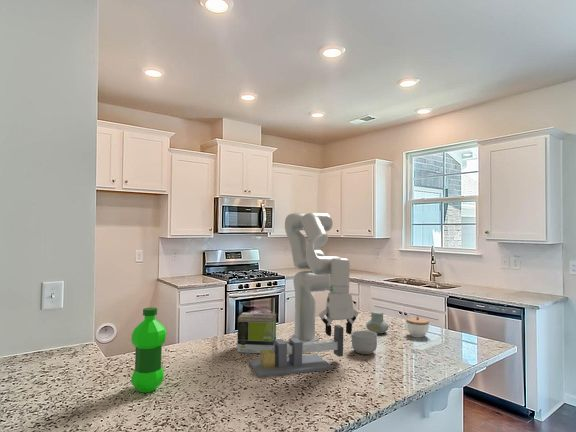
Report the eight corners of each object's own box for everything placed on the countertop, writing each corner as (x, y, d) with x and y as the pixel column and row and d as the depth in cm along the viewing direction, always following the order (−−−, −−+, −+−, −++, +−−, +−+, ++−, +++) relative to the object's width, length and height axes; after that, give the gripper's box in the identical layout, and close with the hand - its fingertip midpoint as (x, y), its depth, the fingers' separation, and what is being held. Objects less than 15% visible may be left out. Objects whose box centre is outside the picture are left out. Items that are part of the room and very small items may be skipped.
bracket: (249, 363, 144) (249, 338, 144) (316, 356, 153) (317, 333, 154) (258, 377, 131) (259, 349, 131) (332, 369, 140) (332, 343, 141)
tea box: (275, 347, 165) (276, 312, 165) (272, 354, 155) (273, 318, 155) (241, 345, 166) (242, 311, 167) (236, 352, 156) (237, 316, 157)
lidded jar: (406, 337, 184) (406, 318, 185) (405, 331, 195) (406, 313, 195) (429, 339, 181) (429, 320, 182) (428, 334, 192) (428, 315, 192)
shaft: (281, 358, 143) (281, 329, 143) (338, 352, 151) (338, 325, 152) (284, 362, 139) (285, 331, 140) (343, 356, 147) (343, 327, 148)
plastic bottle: (152, 379, 127) (155, 304, 128) (171, 388, 120) (173, 309, 121) (123, 389, 119) (126, 308, 120) (141, 399, 112) (144, 314, 113)
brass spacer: (270, 363, 142) (260, 364, 141) (270, 349, 142) (260, 350, 141) (274, 367, 138) (263, 368, 136) (274, 353, 138) (264, 354, 136)
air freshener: (390, 332, 194) (390, 312, 194) (385, 335, 187) (385, 315, 187) (369, 328, 199) (369, 309, 200) (363, 332, 192) (364, 312, 193)
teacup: (370, 358, 153) (370, 338, 154) (346, 352, 160) (346, 333, 160) (383, 350, 164) (384, 331, 165) (361, 344, 171) (361, 326, 171)
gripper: (323, 291, 143) (322, 338, 143) (363, 290, 149) (363, 335, 149) (315, 288, 150) (314, 333, 150) (354, 287, 156) (353, 330, 156)
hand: (338, 334), depth 149 cm, fingers open, 8 cm apart
